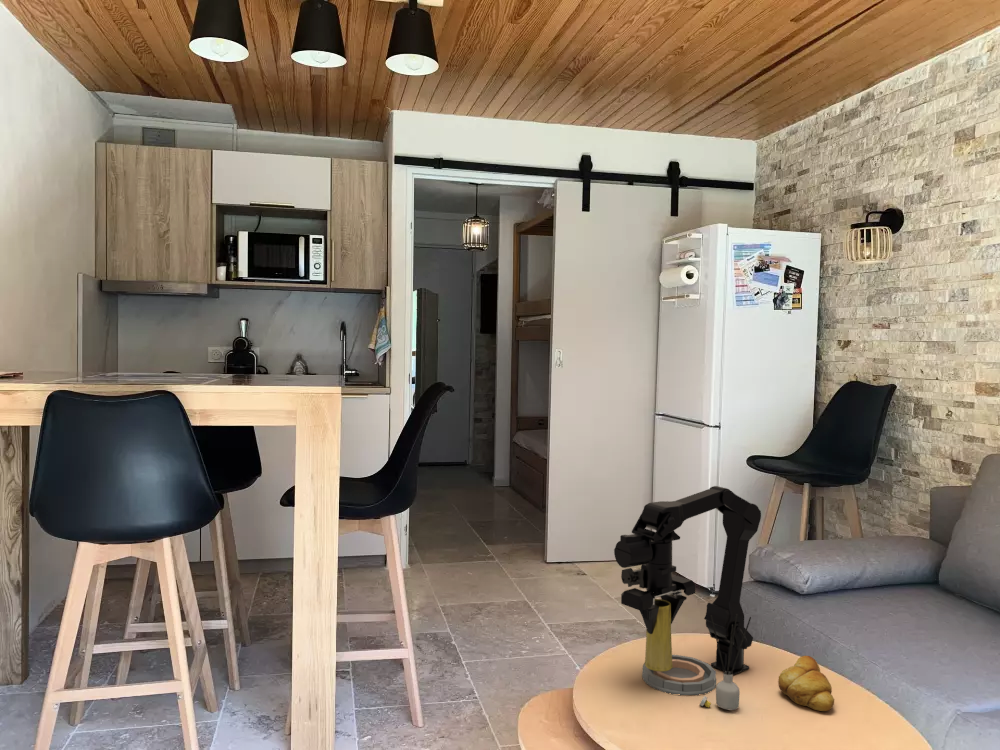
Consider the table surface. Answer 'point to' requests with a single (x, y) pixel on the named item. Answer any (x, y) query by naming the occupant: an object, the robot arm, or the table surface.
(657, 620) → the vase
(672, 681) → the grooved tray
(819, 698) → the bread roll
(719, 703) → the reed diffuser
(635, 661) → the table surface
